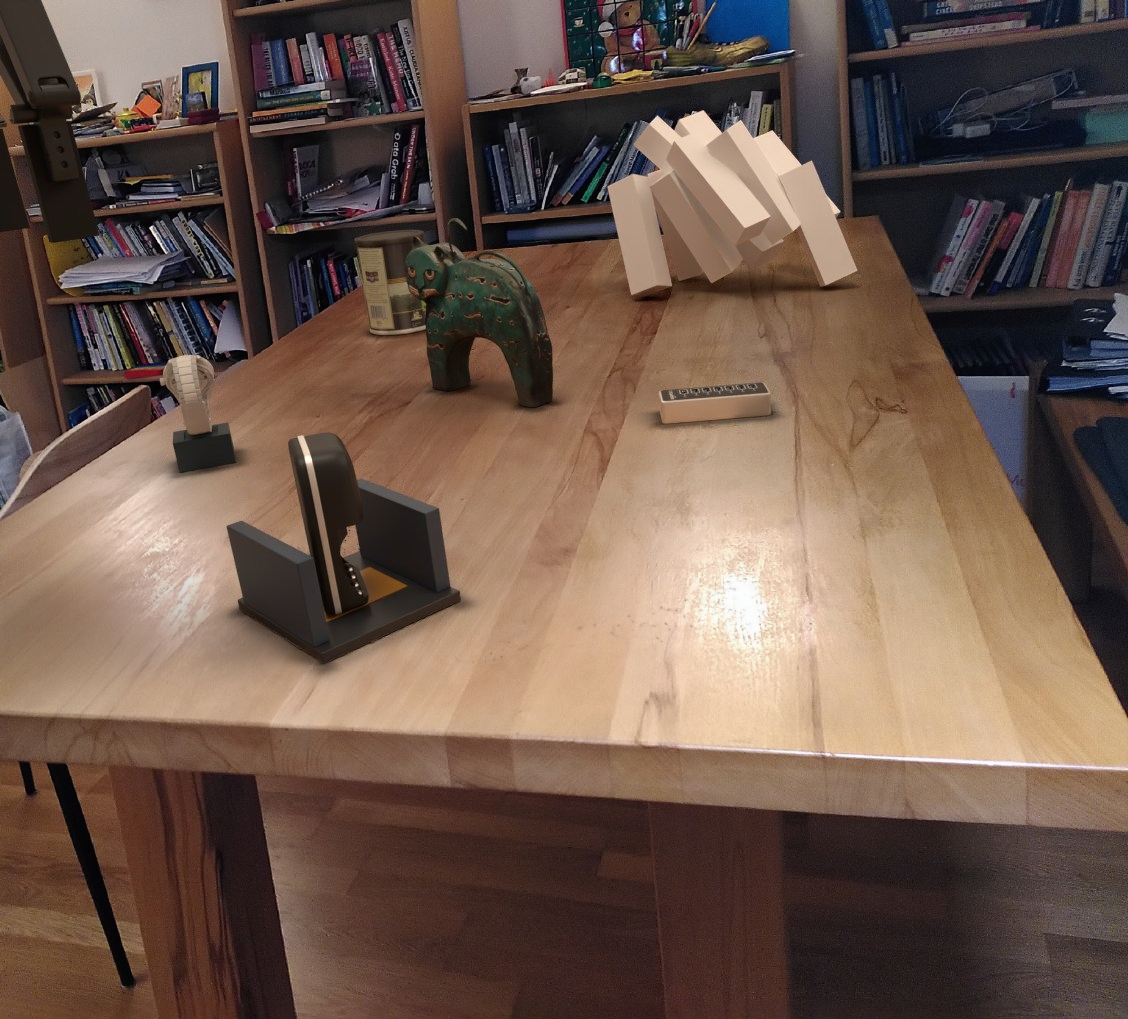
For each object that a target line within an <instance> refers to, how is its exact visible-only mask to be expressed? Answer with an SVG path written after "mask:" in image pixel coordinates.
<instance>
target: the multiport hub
mask: <svg viewBox="0 0 1128 1019" xmlns="http://www.w3.org/2000/svg"><path fill="white" fill-rule="evenodd" d="M771 398H772V395H771V391H770V390H769V388H768V386H767V383H765V382H762V381H759V382H758V381H757V382H747V383H746V382H745V383H733V384H723V385H722V384H721V385H719V384H718V385H708V386H696V387H684V388H672V389H661V390H659V391H658V403H659V404H658V405H659V406H658V407H659V414H660V419H661V423H662V424H679V423H680V424H681V423H690V422H693V423H694V422H702V421H704V422H705V421H716V420H717V421H718V420H729V419H740V418H741V419H742V418H743V419H744V418H754V417H766V416H771V415H772V399H771Z"/></svg>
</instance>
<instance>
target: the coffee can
mask: <svg viewBox="0 0 1128 1019" xmlns="http://www.w3.org/2000/svg"><path fill="white" fill-rule="evenodd" d="M413 236H416V237H418V238H419V239H420V240H421V241H422V242H424V243H425V238H424V237H425V231H424V230H421V229H399V230H397V229H396V230H388V231H381V232H373V233H368V234H364V235H360V236H358V237H355V238H354V243H355V245H356V251H357V258H358V263H359V269H360V275H361V276H360V277H361V281H362V288H363V294H364V300H365V306H366V311H367V318H368V325H369V332H370V334H372V335H375V336H376V335H377V336H397V335H398V336H399V335H406V334H407V335H408V334H413V333H419V332H423V331H426V327H425V315H426V303H425V302H424V301H422V300H419V299H417V298H416V297H414V296H413V295H412V294H411V293H410V292H409V289H408V284H407V281H406V273H405V260H406V258H407V256H408V254H409V253H410V252H411V251H412V246H413V243H412V241H413Z"/></svg>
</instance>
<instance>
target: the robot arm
mask: <svg viewBox="0 0 1128 1019" xmlns="http://www.w3.org/2000/svg"><path fill="white" fill-rule="evenodd" d="M0 77H1V80H2V81H3V83H4V85H5V88H6V89H7V91H8V93H9V95H10V96H11V99H12V100H13V102H14V104H9V107H10V108H9V120H8V121H9V122H10V124H11V125H17V129H18V132H19V135H20V140H21V144H22V147H23V152H24V155H25V158H26V163H27V166H28V169H29V173H30V176H31V180H32V184H33V187H34V191H35V196H36V199H37V202H38V203H37V204H38V206H39V210H40V214H41V217H42V221H43V224H44V228H45V232H46V236H47V240H48V243H51V244H55V243H61V242H66V241H67V242H68V241H75V240H80V239H81V240H82V239H86V238H87V239H88V238H93V237H98V236H100V232H99V227H98V224H97V220H96V216H95V212H94V207H93V204H92V201H91V200H92V199H91V197H90V192H89V188H88V184H87V181H86V177H85V172H84V168H83V164H82V160H81V157H80V156H81V155H80V152H79V149H78V144H77V140H76V137H75V133H74V129H73V125H72V121H71V120H72V119H73V114H74V112H73V107H74V106H76V107H77V106H80V105H81V101H82V96H81V91H80V90H79V88H78V85H77V82H76V80H75V77H74V75H73V72H72V70H71V68H70V65H69V63H68V61H67V58H66V55H65V53H64V52H63V49H62V46H61V44H60V42H59V39H58V37H57V34H56V32H55V29H54V27H53V25H52V22H51V20H50V17H49V15H48V13H47V10H46V8H45V5H44V4H43V1H42V0H0ZM7 127H8V123H7V122H6V120H5V117H4V116H3V115H2V114H1V113H0V233H6V232H12V231H18V230H25V229H30V228H31V226H30V223H29V220H28V215H27V212H26V209H25V208H26V207H25V205H24V201H23V197H22V195H21V194H22V193H21V190H20V186H19V183H18V179H17V175H16V172H15V168H14V165H13V161H12V158H11V154H10V150H9V147H8V143H7V140H6V136H5V132H4V129H3V128H7Z"/></svg>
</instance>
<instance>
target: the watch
mask: <svg viewBox="0 0 1128 1019" xmlns="http://www.w3.org/2000/svg"><path fill="white" fill-rule="evenodd" d="M162 373H163V374H162V375H163V376H162V377H160V378H159V383H160V386H161V387H163V386H166V388H167V389H168V390H169V391H170V393H172V395H173V396H174V397H175V398H176V401H178V403H179V404H180V405H179V407H180V411H181V415H182V418H183V426H184V427H185V428H186V429H182V430H176V431H173V432H172V448H173V451H174V454H175V459H176V463H177V467H178V471H179V473H187V472H191V471H192V472H193V471H197V470H203V469H208V468H213V467H219V466H224V465H225V466H226V465H229V464H234V463H237V460H236V452H235V446H234V442H233V436H232V432H231V428H230V424H229V422H222V423H216V424H212V418H211V413H210V407H209V401H208V400H210V399H211V398H212V391H213V386H214V382H215V370H214V367H213V365H212V363H211V362H210V361H209V360H207V359H206V358H205V357H202V356H201V355H199V354H197V355H196V354H184V355H180V356H177V357H173V358H170V359H168V361H167V363H166V365H165V366H164V368H163V372H162Z"/></svg>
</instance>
